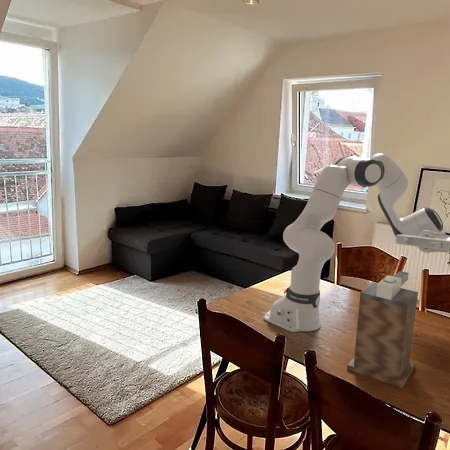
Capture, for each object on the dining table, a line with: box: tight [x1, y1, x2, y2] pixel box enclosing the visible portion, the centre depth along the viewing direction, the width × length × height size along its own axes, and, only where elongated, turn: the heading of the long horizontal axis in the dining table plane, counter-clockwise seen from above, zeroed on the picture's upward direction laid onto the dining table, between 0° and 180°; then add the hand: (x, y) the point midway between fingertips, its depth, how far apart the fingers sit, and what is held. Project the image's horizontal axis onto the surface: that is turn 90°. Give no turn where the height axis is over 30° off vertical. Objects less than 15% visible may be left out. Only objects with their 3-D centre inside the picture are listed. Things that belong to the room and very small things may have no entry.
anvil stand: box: [346, 281, 419, 389], centre depth 136 cm, size 17×15×26 cm
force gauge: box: [376, 270, 410, 300], centre depth 137 cm, size 4×22×4 cm, turn 144°
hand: (418, 243), depth 158 cm, fingers open, 8 cm apart
